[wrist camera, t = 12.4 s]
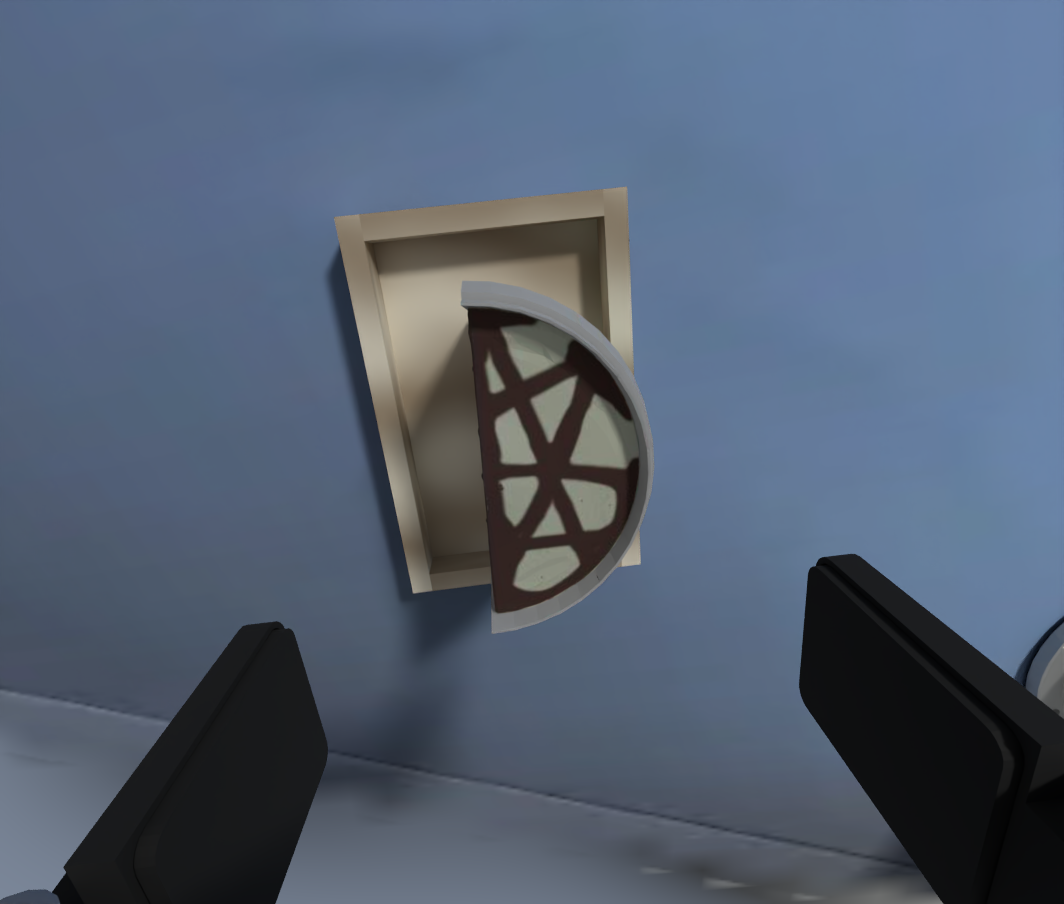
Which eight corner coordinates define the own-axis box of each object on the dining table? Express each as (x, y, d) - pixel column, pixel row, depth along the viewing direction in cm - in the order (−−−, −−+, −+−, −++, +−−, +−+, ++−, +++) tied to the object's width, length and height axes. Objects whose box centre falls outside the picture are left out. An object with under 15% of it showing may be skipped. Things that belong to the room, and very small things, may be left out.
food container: (606, 510, 28) (662, 630, 19) (492, 519, 28) (492, 646, 19) (604, 268, 24) (677, 269, 15) (471, 276, 24) (458, 282, 14)
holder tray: (629, 540, 30) (640, 564, 28) (419, 567, 30) (413, 593, 27) (613, 194, 24) (627, 186, 22) (349, 222, 23) (334, 217, 21)
